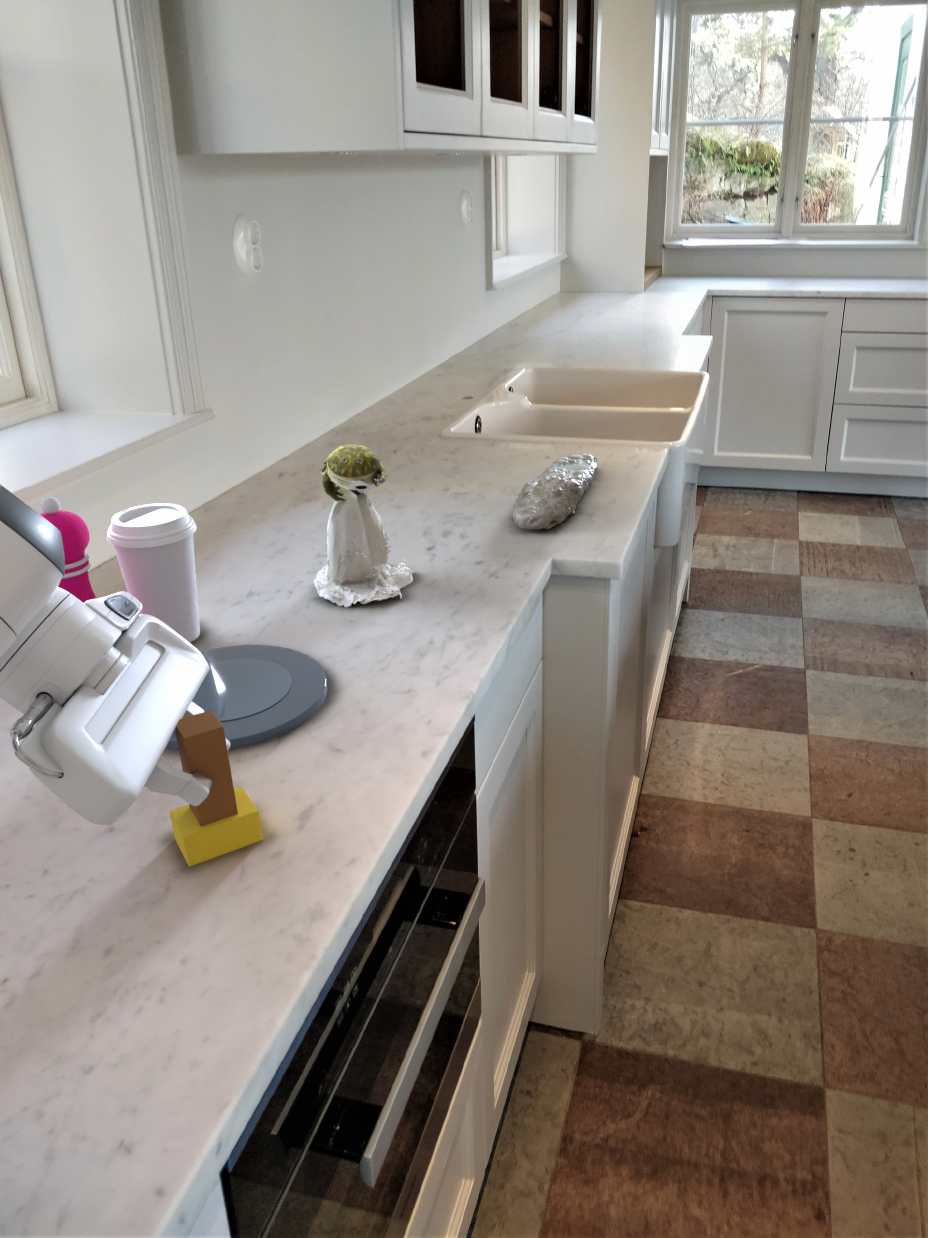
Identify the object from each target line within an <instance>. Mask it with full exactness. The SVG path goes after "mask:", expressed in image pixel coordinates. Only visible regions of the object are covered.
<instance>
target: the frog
mask: <svg viewBox="0 0 928 1238" xmlns="http://www.w3.org/2000/svg"><path fill="white" fill-rule="evenodd" d="M380 458H381V456H380V455H377V454H376V453H375V452H372V449H370V447H368V446H366V445H362V444H344V445H340V446H338V447H336V448H335V449H334V450H333V451H332V452H330V453H329V454H328V455H327V457H326V460H325V461H324V462H323V467H322V468H321V469H320V471H319V472H320V473H321V474H322V480H321V483H322V489H323V491H324V492H325V494H326V495H327V496H328V497H330V498H331V499H332V500H334V501H333V505H332V508H331V510H330V513H329V516H328V520H327V527H326V540H325V541H326V547H327V549H326V548H324V550H326V554H325V557H326V558H327V559H326V565H324V566H323V567H322V568H321V569H320V570H319V571H318V572H317V573H316V576H315V577H314V579H313V584H314V587H315V590H316V592H317V594H318V596H319V597H320V598H324V600H329V601H330V602H331V603H333V604H334V603H335V604H336V605H337V606H339V607H342V606H344V608H349V607H352V604H353V605H356V604H357V602H360V604H361V605H362V604H363V605H365V604H368V603H370V602H372V601H383V600H387V599H389V598H394V597H397V596H398V595H399V598H400V599H402V598H403V595H402V593H401V589H402V588H405V587H406V586H408V585H410V584H411V583H413V581H414V579H413V574H414V573H415V570H412V569H411V568H409V567H408V565H407V564H406V563H404V562H406V561H407V559H406V558H404V557H403V558H402V559H403V561H404V562H400V563H398V566H397V567H396V566H391V565H390V564H388V560H389V553H390V552H391V550H392V545H390V544H389V542H391V539H390V537H388V534H387V533H385V528H384V524H383V523H382V522H383V521H382V518H381V515H380V514H379V513H378V512H377V510H376V508H375V507H374V504H377V502H376V501H374V504H373V503H372V500H371V499H370V498H369V496H368V492H370V491H371V490H373V491H374V490H375V491H376V490H379V486H380V485H383V484H384V483H386V481H387V479H388V477H389V475H388V474H389V473H388V472H387V469H386V468H385V466H384V465H383V464H382V462H381V459H380ZM336 485H337V486H336ZM379 505H380V506H381V505H382V503H379ZM388 541H389V542H388Z"/></svg>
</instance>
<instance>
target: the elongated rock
mask: <svg viewBox="0 0 928 1238" xmlns="http://www.w3.org/2000/svg"><path fill="white" fill-rule="evenodd" d="M597 460H598V458H597V457H596V456H593V455H592V454H591V453H584V452H582V453H579V454H577V453H574V454H573V453H572V454H570V455H569V454H568V455H566V456H563V457H559V458H557V459H555V460H554V461H553V462H552V464H551V465H550V466H548V467H547V468H545V470H544V471H542V472H541V474H540V475H539V476H538V477H537V478H536V479H533V480H532V481H530V482H526V483H525V484H524V485H523V486H522V488H521V489H520V491H519V493H518V497H517V498H516V499H515V502H514V504H513V505H512V506H513V510H512V515H511V516H512V520H513V522H514V524H515V525H516V526H517V527H518V528H519V529H522V530H524V529H526V530H542V529H546V530H550V529H551V528H553V527H556V526H557V524H562V523H563V522H564V521H565V520H566V519H567V518H568V516H571V515H575V514H576V512H575V510H576V509H577V504H578V503H579V502H580V501H581V499H582V497H583V496H584V494H585V492H586V491H587V490H589V487H590V485H593V481H594V479H595V476H596V475H597V473H598V469H599V468H598V461H597Z"/></svg>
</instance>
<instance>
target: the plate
mask: <svg viewBox="0 0 928 1238" xmlns="http://www.w3.org/2000/svg"><path fill="white" fill-rule="evenodd" d="M200 652H201V653H202V655H203V656H204V658H205V660H206V661H207V663H208V665H209V671H208V673H207V675H206V677H205V678H204V680H203V682H202V684H201V686H200V687H199V689H198V691H197V693H196V694H195V696H194V698H193V700H192V702H193V703H195V704H196V705H197V706H199V707H200V708H201V709H203V711H204V712H206V711H209V710H212V711H213V713H214V714H215V716H216V717H217V718H218V720H219V721H220V723H221V724H222V725H223V727H224V732H225V738H226V739H227V740H229V742H230V748H229V750H235V749H239V748H244V747H245V748H246V747H249V746H253V745H257V744H260V743H265V742H267V741H269V740H272V739H275V738H277V737H279V736H281V735H284V734H286V733H288V732H290V731H292V730H294V729H296V728H297V727H299V726H301V725H302V724H303V723H305V722H307V721H308V720H309V719H310V718H311V717H312V716H314V715H315V714H316V712H317V711H318V710H319V709H320V708H321V707H322V706H323V704H324V702H325V700H326V697H327V695H328V681H327V680H328V679H327V675H326V672H325V670H324V668H323V667H322V665H321V664H320V663H319V662H318V661H317V660H315V659H314V658H313V657H311V656H310V655H307V654H306V653H303V652H301V651H300V650H295V649H292V648H289V647H288V648H287V647H282V646H277V645H269V644H267V645H266V644H241V645H239V644H238V645H229V646H222V647H216V648H212V649H205V650H202V651H200ZM165 750H171V751H178V752H179V749H178V744H177V738H176V733H175V732H174V734H173V735H172V737H171V739H170V741H169V742H168V744H167V746H166V748H165Z"/></svg>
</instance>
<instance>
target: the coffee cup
mask: <svg viewBox="0 0 928 1238" xmlns="http://www.w3.org/2000/svg"><path fill="white" fill-rule="evenodd" d="M197 529H198V527H197V524H196V522H195V520H194V519H193V517H192V516H191V515H190V514H189V513H188V511H187V509H186V508H185V507H184V506H182V505H180V504H175V503H164V502H163V503H162V502H161V503H159V502H158V503H148V504H147V503H146V504H142V505H137V506H132V507H129V508H126V509H124V510H121V511H119V512H116V513H115V514H114V515H113V516H112V517H111V521H110V526H109V527H108V529H107V534H106V540H107V542H108V544H110V545H112V546H113V549H114V552H115V556H116V558H117V562H118V565H119V568H120V572H121V575H122V578H123V581H124V585H125V589H126V592H127V593H129V594H131V595H132V596H134V597H135V598H136V599H137V600H138V601H139V602H140V603H141V604H142V607H143V608H142V611H141V612H140V614H139V615H142V614H147V615H151V616H153V617H155V618H157V619H159V620H161V621H162V622H164V623H165V624H166V625H168V626H169V627H170V628H172V629H173V630H174V631H176V632H177V633H178V634H179V635H181V636H182V637H183V638H185V639H186V640H187V641H188V642H189V643H192V642H194V641H195V640H196V639H198V638H199V637H200V634H201V628H200V627H201V626H200V616H199V615H200V612H199V600H198V586H197V573H196V560H195V559H196V558H195V544H194V543H195V542H194V534H195V533H196V531H197ZM139 615H138V616H139Z"/></svg>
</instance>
